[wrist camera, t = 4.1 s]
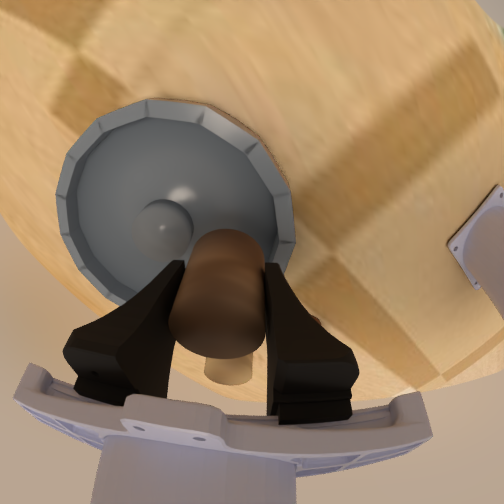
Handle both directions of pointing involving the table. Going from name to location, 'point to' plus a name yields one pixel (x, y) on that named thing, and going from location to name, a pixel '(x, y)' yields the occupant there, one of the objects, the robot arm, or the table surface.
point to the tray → (166, 192)
